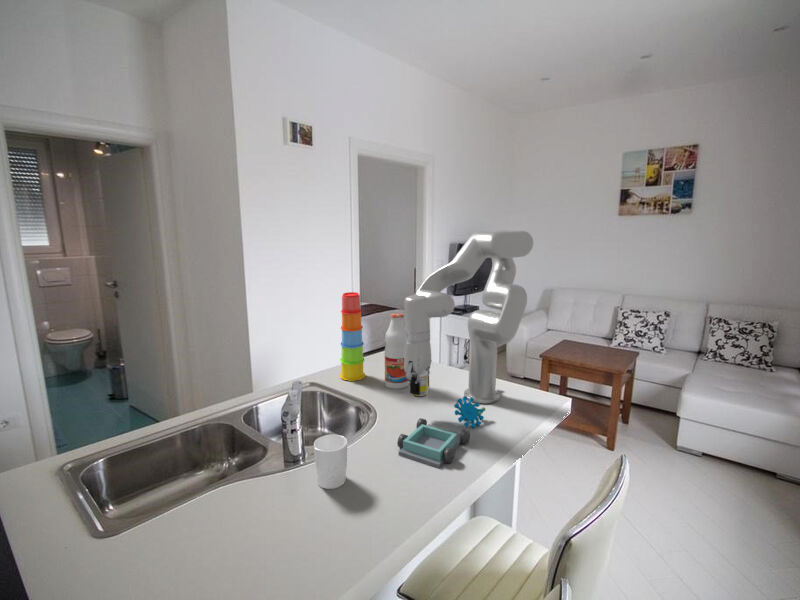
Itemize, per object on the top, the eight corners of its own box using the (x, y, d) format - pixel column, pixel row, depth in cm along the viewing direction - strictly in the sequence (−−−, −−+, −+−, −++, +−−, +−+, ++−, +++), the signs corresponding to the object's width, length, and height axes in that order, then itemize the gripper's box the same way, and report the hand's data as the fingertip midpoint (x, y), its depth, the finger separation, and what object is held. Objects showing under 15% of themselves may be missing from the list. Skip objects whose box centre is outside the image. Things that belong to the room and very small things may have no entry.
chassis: (423, 425, 126) (424, 414, 126) (471, 438, 119) (471, 427, 118) (393, 453, 111) (393, 440, 111) (445, 470, 103) (445, 457, 103)
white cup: (320, 494, 94) (319, 454, 92) (311, 476, 101) (309, 438, 99) (352, 485, 98) (352, 446, 96) (341, 468, 104) (340, 431, 103)
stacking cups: (370, 375, 169) (369, 292, 163) (354, 383, 160) (353, 295, 154) (350, 370, 174) (348, 290, 168) (334, 378, 166) (332, 293, 159)
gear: (461, 427, 122) (452, 395, 128) (452, 434, 126) (444, 403, 132) (491, 425, 127) (482, 394, 132) (482, 432, 131) (473, 402, 136)
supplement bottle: (418, 390, 134) (417, 360, 132) (432, 394, 131) (431, 364, 129) (407, 396, 130) (406, 366, 128) (421, 401, 127) (420, 370, 125)
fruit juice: (406, 379, 164) (406, 311, 159) (411, 388, 155) (411, 316, 150) (383, 381, 163) (382, 311, 158) (386, 390, 154) (386, 317, 149)
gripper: (420, 326, 136) (422, 378, 139) (392, 342, 121) (395, 398, 125) (440, 329, 132) (442, 382, 135) (415, 345, 117) (417, 403, 121)
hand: (419, 389), depth 130 cm, fingers closed on supplement bottle, 5 cm apart
